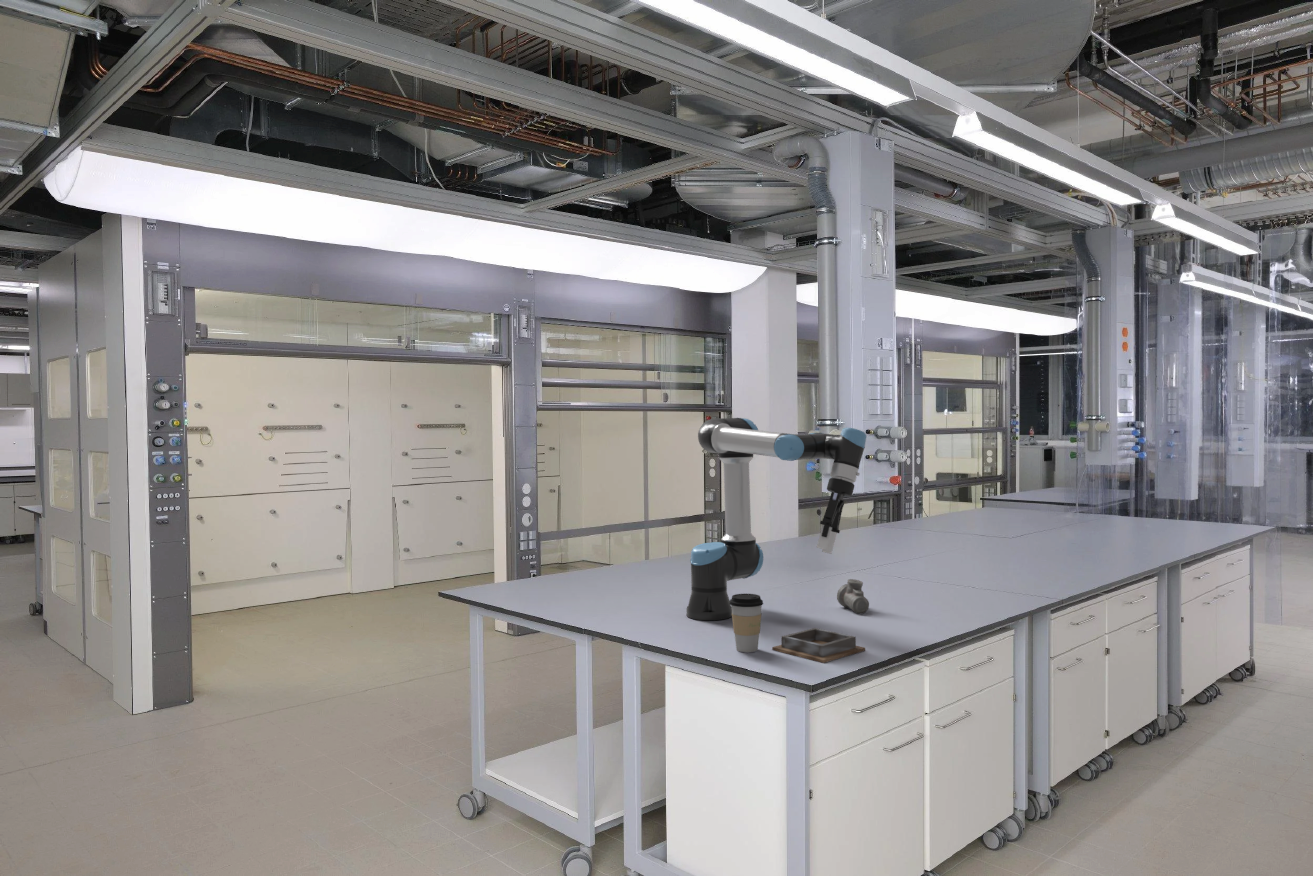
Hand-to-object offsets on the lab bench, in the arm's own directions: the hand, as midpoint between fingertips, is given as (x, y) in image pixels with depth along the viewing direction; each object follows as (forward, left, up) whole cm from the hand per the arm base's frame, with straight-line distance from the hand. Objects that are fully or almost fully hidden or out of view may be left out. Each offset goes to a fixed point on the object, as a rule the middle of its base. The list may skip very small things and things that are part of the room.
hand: (824, 551), depth 254 cm
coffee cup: (-8, -24, -26) cm, 36 cm away
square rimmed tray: (+6, -10, -26) cm, 28 cm away
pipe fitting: (-18, +38, -26) cm, 49 cm away
